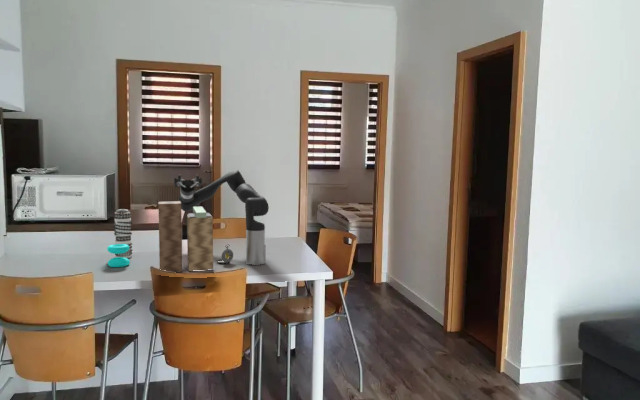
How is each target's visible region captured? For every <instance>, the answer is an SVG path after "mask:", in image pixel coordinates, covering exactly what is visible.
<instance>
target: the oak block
mask: <svg viewBox="0 0 640 400" xmlns="http://www.w3.org/2000/svg"><path fill="white" fill-rule="evenodd" d="M213 223H214V217H213V216H212V215H211V213H210V212H206V218H196V216H195V214H194V212H192V213H191V212H190V213H187V215H186V234H187V235H186V236H187V237H186V238H187V247H186V248H187V269H188V268H189V269H188V272H189V271H193V270H208V269H213V270H214V226H213V225H214V224H213Z"/></svg>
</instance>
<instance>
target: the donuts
mask: <svg viewBox="0 0 640 400" xmlns="http://www.w3.org/2000/svg"><path fill="white" fill-rule="evenodd" d="M106 250H107V251H108V253H110V254H114V255H115V254H121V253H125V252H127V251H128V250H129V246H128V245H126V244H116V243H114V244H110V245H108V246H107V248H106ZM130 264H131V261H130V259H129V258H125V257H116V258H115V257H113V258H110V259H109V260H108V261H107V266H109V267H111V268H123V267H127V266H128V265H130Z"/></svg>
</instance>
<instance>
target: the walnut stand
mask: <svg viewBox="0 0 640 400" xmlns="http://www.w3.org/2000/svg"><path fill="white" fill-rule="evenodd" d="M182 224H183V223H182V208H181V201H179V200H177V201H176V200H175V201H173V200H172V201H158V242H159V243H158V250H159V251H158V252H159V254H158V255H159V270H160V269H161V270H166V271H177V272H176V273H180V271H182V272H183V231H182V230H183V229H182Z"/></svg>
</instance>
